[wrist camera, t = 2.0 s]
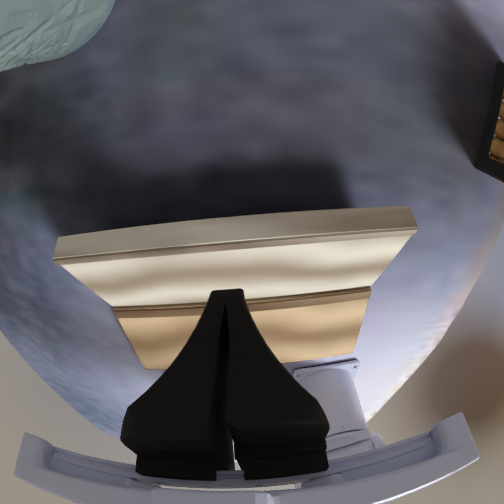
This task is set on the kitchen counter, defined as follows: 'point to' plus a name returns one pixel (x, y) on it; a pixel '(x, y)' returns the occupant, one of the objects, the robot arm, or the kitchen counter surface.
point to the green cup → (47, 28)
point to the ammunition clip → (494, 132)
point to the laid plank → (266, 319)
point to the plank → (238, 255)
